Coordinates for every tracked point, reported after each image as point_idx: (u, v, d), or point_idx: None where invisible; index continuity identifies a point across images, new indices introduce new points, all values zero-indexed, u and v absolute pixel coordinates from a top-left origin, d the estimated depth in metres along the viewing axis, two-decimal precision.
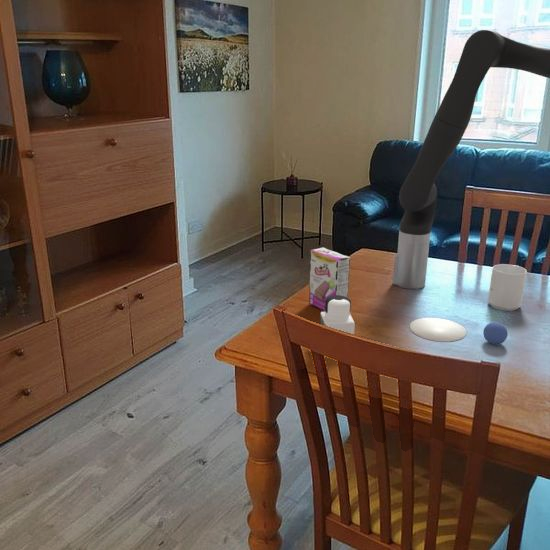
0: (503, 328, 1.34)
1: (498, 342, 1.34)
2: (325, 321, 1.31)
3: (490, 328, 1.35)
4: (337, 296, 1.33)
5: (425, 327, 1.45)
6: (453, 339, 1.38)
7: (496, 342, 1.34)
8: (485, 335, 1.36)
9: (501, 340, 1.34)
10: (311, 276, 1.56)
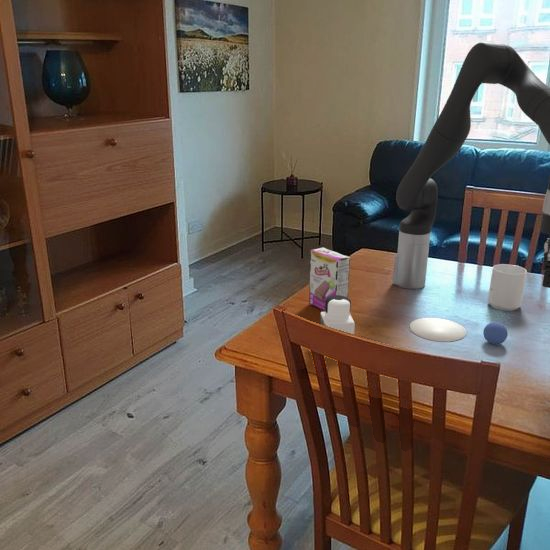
0: (503, 328, 1.34)
1: (498, 342, 1.34)
2: (325, 321, 1.31)
3: (490, 328, 1.35)
4: (337, 296, 1.33)
5: (425, 327, 1.45)
6: (453, 339, 1.38)
7: (496, 342, 1.34)
8: (485, 335, 1.36)
9: (501, 340, 1.34)
10: (311, 276, 1.56)
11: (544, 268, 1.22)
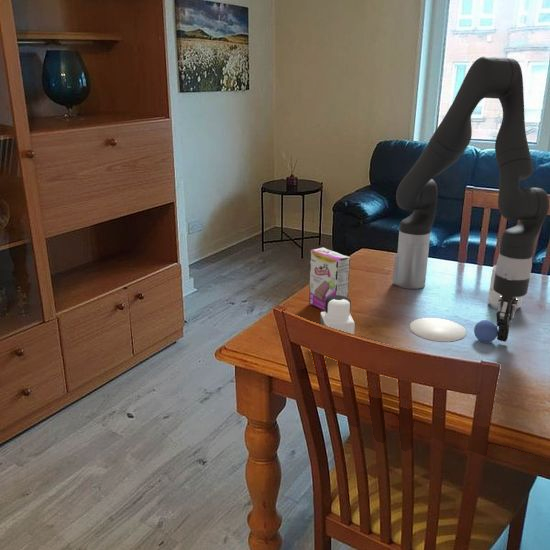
0: (488, 323, 1.35)
1: (491, 337, 1.35)
2: (325, 321, 1.31)
3: (477, 329, 1.36)
4: (337, 296, 1.33)
5: (425, 327, 1.45)
6: (453, 339, 1.38)
7: (490, 338, 1.35)
8: (477, 337, 1.37)
9: (492, 334, 1.35)
10: (311, 276, 1.56)
11: (498, 324, 1.32)
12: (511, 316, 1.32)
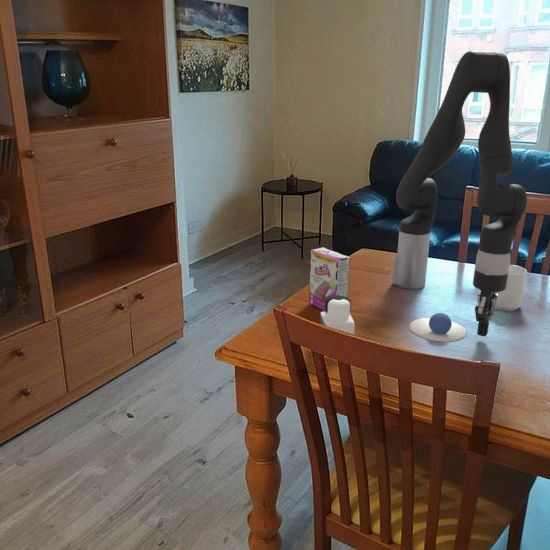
0: (444, 333, 1.41)
1: (433, 328, 1.40)
2: (325, 321, 1.31)
3: (448, 325, 1.39)
4: (337, 296, 1.33)
5: (425, 327, 1.45)
6: (453, 339, 1.38)
7: (433, 327, 1.40)
8: (442, 319, 1.39)
9: (434, 331, 1.40)
10: (311, 276, 1.56)
11: (477, 319, 1.34)
12: (490, 311, 1.34)
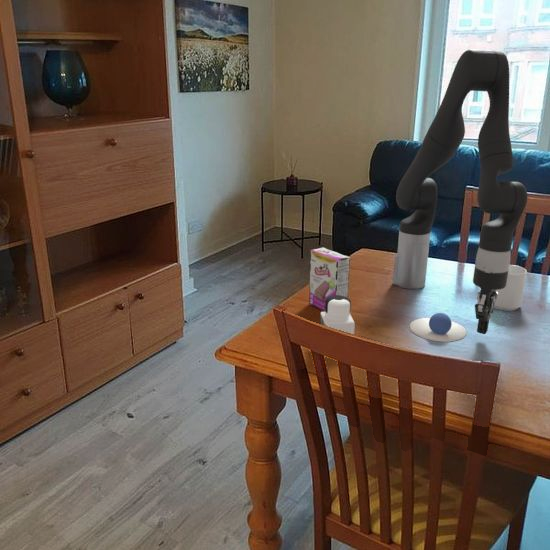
0: (444, 333, 1.41)
1: (433, 328, 1.40)
2: (325, 321, 1.31)
3: (448, 325, 1.39)
4: (337, 296, 1.33)
5: (425, 327, 1.45)
6: (453, 339, 1.38)
7: (433, 327, 1.40)
8: (442, 319, 1.39)
9: (434, 331, 1.40)
10: (311, 276, 1.56)
11: (477, 317, 1.34)
12: (490, 309, 1.34)
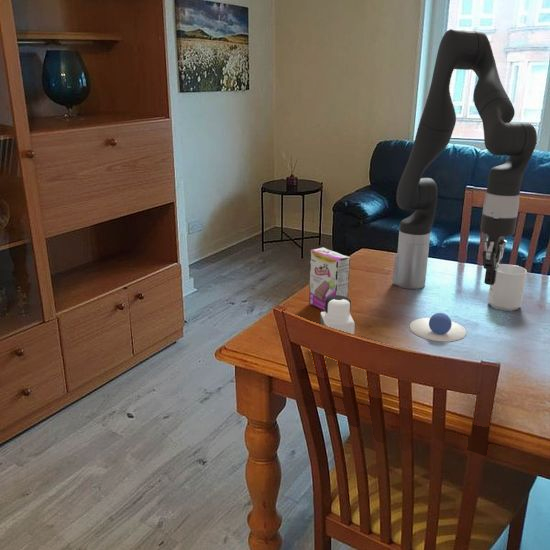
0: (444, 333, 1.41)
1: (433, 328, 1.40)
2: (325, 321, 1.31)
3: (448, 325, 1.39)
4: (337, 296, 1.33)
5: (425, 327, 1.45)
6: (453, 339, 1.38)
7: (433, 327, 1.40)
8: (442, 319, 1.39)
9: (434, 331, 1.40)
10: (311, 276, 1.56)
11: (484, 266, 1.30)
12: (498, 257, 1.29)
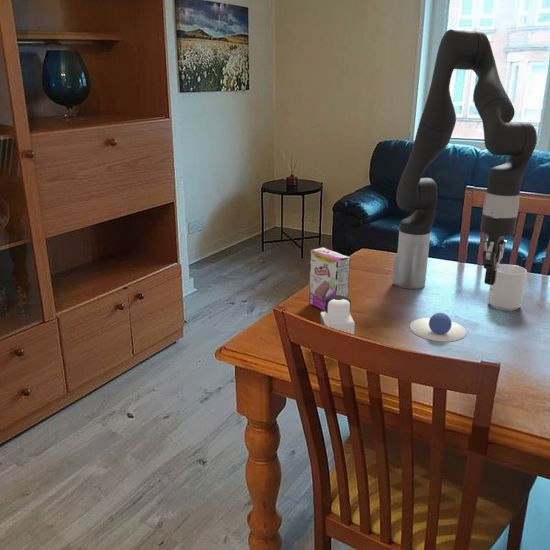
0: (444, 333, 1.41)
1: (433, 328, 1.40)
2: (325, 321, 1.31)
3: (448, 325, 1.39)
4: (337, 296, 1.33)
5: (425, 327, 1.45)
6: (453, 339, 1.38)
7: (433, 327, 1.40)
8: (442, 319, 1.39)
9: (434, 331, 1.40)
10: (311, 276, 1.56)
11: (484, 266, 1.30)
12: (498, 257, 1.29)
